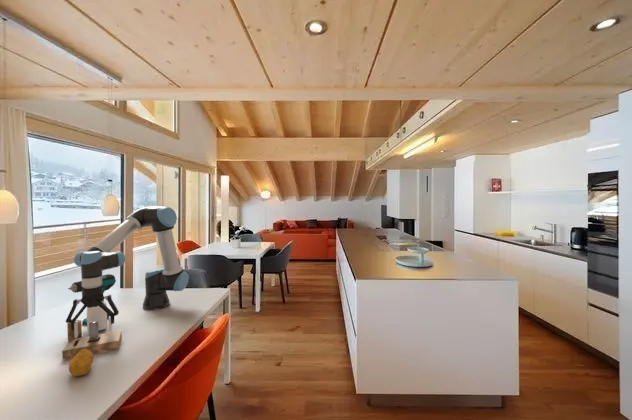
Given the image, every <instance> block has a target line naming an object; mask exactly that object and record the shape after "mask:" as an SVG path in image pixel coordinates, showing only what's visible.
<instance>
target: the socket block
mask: <svg viewBox="0 0 632 420" xmlns="http://www.w3.org/2000/svg"><path fill="white" fill-rule="evenodd" d="M122 332H123V331H122V330H117V331H111V332H106V333H99V341H96V342H90V340H89V335H88V336H82V337H81V338H76V339H70V340H69V341H68V340H67V343H66V345H64V347H63V349H62V350H61V351H62V352H61V353H62V354H61V357H62V361H66V360H72V359H73V357H75V356H76V354H77V353H78V352H79V351H81V350H83V349H87V350H90V351H91V352H92V355H96V354H102V353H107V352H113V351H119V350H120V347H121V343H122V339H123V337H122V336H123V335H122Z"/></svg>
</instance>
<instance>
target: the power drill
mask: <svg viewBox="0 0 632 420" xmlns="http://www.w3.org/2000/svg"><path fill="white" fill-rule="evenodd" d="M116 282H117V280H116V277H115V275H114V274H111V273H110V274H109V273H108V274H102V286H103V294H104V293H105V292H106V291H108V290H110V289H111V288H113V286H115V284H116ZM82 288H83V287H82V280H79V281H75V282H73V283H71V286H70V287H68V288H67V289H68V290H70V291H71V292H73V293H82ZM103 301H105V299H103ZM107 320H109V315H108V314H107ZM81 324H83V325H84V324H87V317H85V318H84V319H83V320H81Z"/></svg>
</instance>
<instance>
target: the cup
mask: <svg viewBox="0 0 632 420" xmlns="http://www.w3.org/2000/svg"><path fill="white" fill-rule="evenodd" d="M102 302H103V303H104V304H105V305H106V306H107V302H106V300H104V301H102ZM86 318H87V323H86V325H87V331H88V332H89V323H90V322H93V321H98V328H99V331H102V330H105V329H107V327H108V319H107V313H106V312H105V311H104V310H103V309H102V308H100V307H99V306H97V307H91V308H88V307H86Z"/></svg>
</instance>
